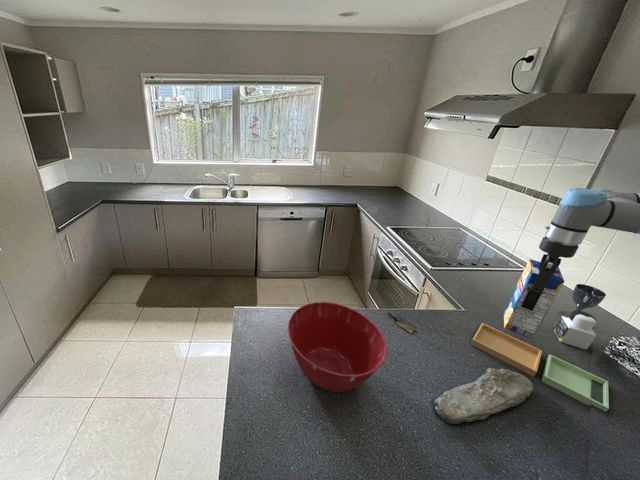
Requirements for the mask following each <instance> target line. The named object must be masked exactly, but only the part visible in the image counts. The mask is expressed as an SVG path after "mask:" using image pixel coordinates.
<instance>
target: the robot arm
mask: <svg viewBox="0 0 640 480" xmlns="http://www.w3.org/2000/svg"><path fill="white" fill-rule="evenodd" d="M544 227H545V229H546V231H545V233H544V236H543V237H542V239H541V241H540V243H539V246H538V249H540V251H542V252H544V253H543V255H542V257H541V260H540V262H541V263H540V266H539V268H538V270H539V274H538V276H537V278H536V280H535V282H534V283H533V285H532V287H531V288H529V287H528V288H527V290H529V292H528V294H527V296H526V297H525V299H524V301H523V303H522V305H521V307H523V308H526V309H528V310H531V311H533V309H534V307H535V305H536V303H537V302H538V300H539V298H540V296H541V295H542V294H543V290H544V288H545V286H546V284H547V282H548V281H549V279H550V277H551V275H552V274H554V272H555V270H556V268H557V267H559V266H560V264H561V263H562V262H561V261H562V258H564V259H567V258H568V259H570V258H574V256H575V255H576V253H577V251H578V250H579V248H580V245H581V244H582V243H583V241H584V240H585V238H586V236H587V234H588V233H589V230H590V228H591V227H597V228H603V229H610V230H614V231H615V230H616V231H620V232H627V233H632V234H637V235H640V192H617V191H616V192H615V191H613V190H610V189H603V188H599V189H591V188H585V187H571V188H569V189H567V190H566V192H565V193H564V195H563V197H562V199H561V200H560V202H559V204H558V207H557V209H556V211H555V213H554V215H553V217H552V219H551V222H550V224H549V225H545V226H544ZM545 253H546V254H545ZM542 265H543V266H542Z"/></svg>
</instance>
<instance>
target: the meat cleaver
mask: <svg viewBox="0 0 640 480" xmlns="http://www.w3.org/2000/svg"><path fill="white" fill-rule="evenodd" d="M386 314H388V315H389V316H391V317H392V318H394V319H395V320H396V322H395V324H397V325H398V326H399V327H401V328H403V330H405V331H407V332H409V334H412V333H414V331H415V327H414V326H411V325H408V324H407V323H405V322H404V321H402V320H401V318H400V317H399V316H398V315H396V314H395V313H394V312H392V311H390V310H388V311H387V313H386Z"/></svg>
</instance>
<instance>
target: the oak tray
mask: <svg viewBox="0 0 640 480" xmlns="http://www.w3.org/2000/svg"><path fill="white" fill-rule="evenodd" d="M470 345H472V346H473V347H475V348H477V349H479V350H481V351H482V352H485V353H486V354H489V355H491V356H492V357H494V358H496V359H498V360H499V361H502V362H503V363H506V364H508V365H510V366H512V367H514V368H515V369H517V370H519V371H521V372H523V373H525V374H526V375H528V376H531V377H532V378H535V376H536V375H537V372H538V370H539V365H540V362H541V357H542V354H543V350H542V349H540V348H538V347H535V346H534V345H531V344H529V343H527V342H525V341H522V340H521V339H518V338H516V337H514V336H512V335H510V334H507V333H505V332H503V331H501V330H499V329H497V328H494V327H492V326H490V325H488V324H486V323H483V322H482V323H481V324H480V326H479V328H478V329H477V330H476V332H475V334H474V335H473V338H472V340H471V342H470Z"/></svg>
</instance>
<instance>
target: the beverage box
mask: <svg viewBox="0 0 640 480" xmlns="http://www.w3.org/2000/svg"><path fill="white" fill-rule="evenodd" d="M540 263H541V261H539V260H534V259H530V258H529V259H528V261H527V264H526V266H525V268H524V270H523V271H522V274H521V276H520V278H519V280H518V282H517V284H516V286H515V288H514V290H513V292H512V294H511V296H510V298H509V301H507V305H506V307H505V309H504V310H503V327H504V330H506V331H509V332H512V333H514V334H518V335H520V336H522V337H524V338H527V339H531V340H532V339H533V338H534V336H535V334H536V333H537V331H538V329H539V328H540V326H541V324H542V322H543V320H544V318H545V317H546V315H547V313H548V312H549V310H550V308H551V306H552V305H553V303H554V301H555V300H556V297H557V296H558V294H559V291H560V290H561V289H562V287H563V285H564V283H565V279H564V276H563V275H562V272H561V269H560V267H559V266H558V267H557V268H556V270H555V272H554V274H552V275H551V277H550V279H549V281H548V282H547V284H546V286H545V288H544V290H543V294H542V295H541V296H540V298H539V300H538V302H537V303H536V305H535V307H534V309H533V311H531V310H528V309H526V308H523V307H521V305H522V303H523V301H524V299H525V297H526V296H527V294H528V292H529V290H527V288H528V287H529V288H531V287H532V285H533V283H534V282H535V280H536V278H537V276H538V274H539V270H538V268H539V266H540ZM542 266H543V265H542Z"/></svg>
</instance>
